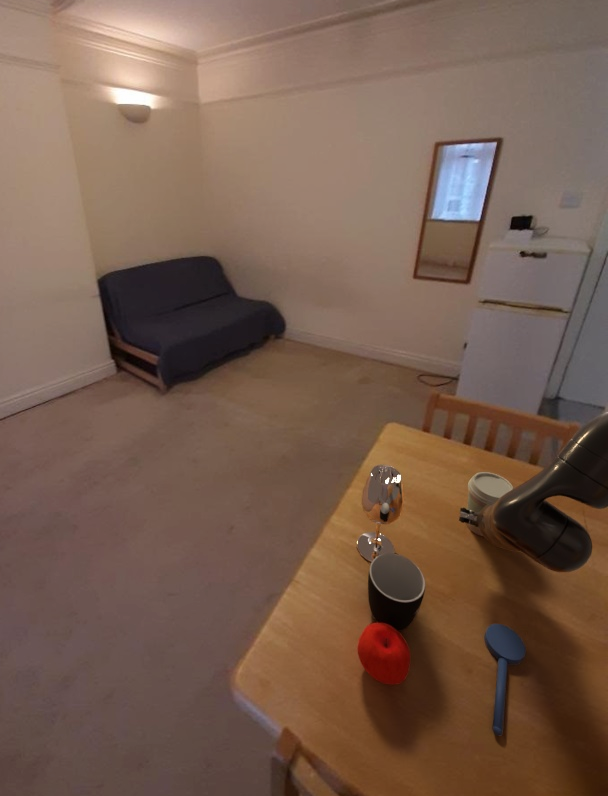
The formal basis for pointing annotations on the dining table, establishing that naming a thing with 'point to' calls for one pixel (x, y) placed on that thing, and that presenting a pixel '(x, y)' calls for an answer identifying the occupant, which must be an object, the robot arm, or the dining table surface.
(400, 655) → the apple
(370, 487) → the wineglass
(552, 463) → the robot arm
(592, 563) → the dining table surface
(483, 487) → the coffee cup
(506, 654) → the blue spoon
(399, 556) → the mug
